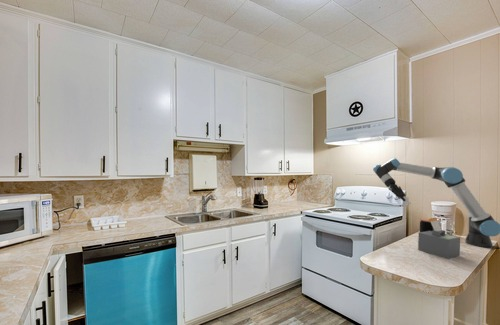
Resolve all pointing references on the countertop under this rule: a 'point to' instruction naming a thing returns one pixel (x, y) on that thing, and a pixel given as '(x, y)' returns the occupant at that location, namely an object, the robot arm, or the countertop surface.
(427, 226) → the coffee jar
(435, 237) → the box
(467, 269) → the countertop surface
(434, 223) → the lever
